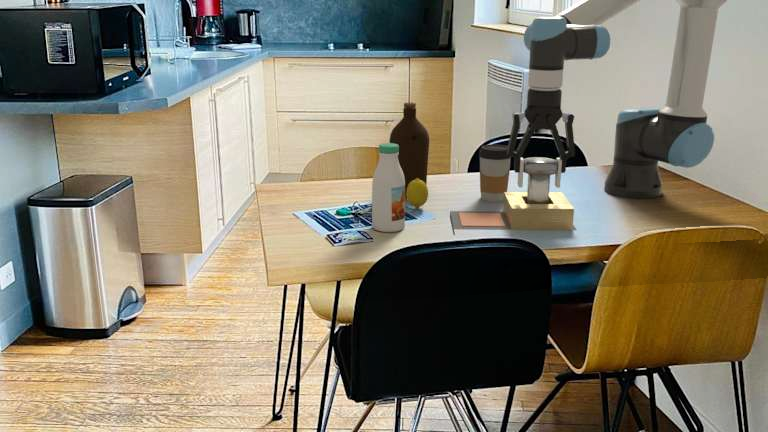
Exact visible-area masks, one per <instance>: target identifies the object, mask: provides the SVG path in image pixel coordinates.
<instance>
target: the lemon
mask: <svg viewBox="0 0 768 432" xmlns="http://www.w3.org/2000/svg"><path fill="white" fill-rule="evenodd" d="M406 196H407V199H406V201H407V202H408V204H410V206H413V207H414V208H415V209H419V208H420V207H422V206H424V205H425V204H426V203H427V201H428V197H429V190H428V185H426V184H425V183H424V182H423V181H422V180H420V179H419V178H416V179H415V180H413V181H411V182H410V183H409V185H408V187H407V192H406Z"/></svg>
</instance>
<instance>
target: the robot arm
mask: <svg viewBox="0 0 768 432" xmlns="http://www.w3.org/2000/svg"><path fill="white" fill-rule="evenodd" d="M675 1H676V2H677V3H678V5H679V7H680V11H679V16H678V17H679V18H678V24H677V30H676V35H675V36H676V38H675V44H674V50H673V56H672V62H671V69H670V77H669V82H668V83H669V84H668V89H667V95H666V102H665V104H664V106H662V107H642V108H641V107H640V108H639V107H637V108H627V109H623V110H620V111H619V113H618V114H617V119H616V120H617V122H616V124H615V137H614V148H613V149H614V151H613V152H614V153H613V162H612V165H611V167H610V170H609V171H608V174H607V176H606V179H605V181H604V188H603V189H604V192H606V193H608V194H610V195H613V196H618V197H621V198H628V199H630V198H631V199H653V198H658V197H660V196H661V195H662V193H663V192H662V191H663V184H662V183H663V182H662V179H661V174H660V170H659V162H661V163H665V164H667V165H668V164H669V165H671V166H673V167H680V168H687V169H688V168H689V169H691V168H694V167H696V166H698V165H700V164H702V162H703V161H704V160H705V159H707V158H708V156H709V154H710V152H711V151H712V149H713V145H714V143H715V142H714V141H715V133H714V131H713V128H712V127H711V126H710V125H709V124H708V123H707V119H708V113H707V112H706V111H705V110H704V108H703V105H704V98H705V93H706V85H707V80H708V75H709V68H710V62H711V55H712V49H713V45H714V37H715V31H716V28H717V27H716V26H717V20H718V13H719V9H720V7H722V6H723V5H724V4H725V3H726V2H727V1H728V0H675ZM638 2H640V0H580V1H579V2H576V3H575V4H573V5H572V6H569V7H568V8H566V9H565V10H563V11H561V12H560V13H558V14H556V15H555V16H538V17H535V18H534V19H533V21H532V23H530V24H529V25H528V26H527V27H526V29H525V30H524V34H523V44H524V46H525V47H526V49H527V50H528V51H529V63H528V64H529V66H528V82H527V86H528V87H529V88H528V89H527V95H526V96H527V97H526V108H525V110H524V112H523V111H522V112H518V113H517V112H513V113H512V122H513V123H512V126H511V131H510V136H509V141H508V145H507V146H508V148H507V154H508V156H510V157H511V158H513V159H514V162H513V170H514V173H517V186H518V188H523V184H524V172H523V169H524V159H525V158H524V157H523V155H524V152H525V150H526V149H527V147H528V144H529V142H530V140H531V138H532V137H533V134H534V133H535V132H536V131H537V130H538V131H539V130H547V131H550V133H551V135H552V139H553V141H554V144H555V146H556V149H557V152H558V154H559V157H556V159H555V160H557V161H558V167H557V173H556V174H554V186H555V187H556V188H557V189H560V188H561V179H562V174H565V173H566V172H567V171H566V170H567V160H568V159H570V158H574V157H575V156H576V151H575V149H576V148H575V139H574V128H573V124H574V120H575V114H572V112H563V110H562V108H561V107H562V90H561V88H562V87H563V79H564V78H563V77H564V65H565V61H570V60H572V61H573V60H577V61H578V60H593V59H601V58H602V57H605V55H606V54H607V53H608V52H609V49H610V46H611V35H610V32H609V30H608V29H607V28H606V27H605V26H603V25H602V24H603V23H605V22H606V21H609V20H610V19H611V18H613V17H615V16H616V15H618V14H620V13H621V12H623V11H625V10H626V9H628V8H629V7H631V6H633V5H634V4H636V3H638ZM524 118H525V119H526V120H527V122H528V125H527V127H526V130H525V132H524V134H523V136H522V138H521V140H520V142H519V144H518V146H517V148H516V145H517V141H518V136H519V131H520V128H521V123H522V122H523V120H524ZM561 118H562V122H564V129H565V139H566V147H567V150H565V147H564V145H563V142H562V139H561V137H560V134H559V130H558V128H557V123H558V122H559V121H560V120H561ZM515 149H516V150H515Z"/></svg>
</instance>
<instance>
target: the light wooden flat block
mask: <svg viewBox="0 0 768 432" xmlns="http://www.w3.org/2000/svg"><path fill="white" fill-rule="evenodd" d="M502 202H503V203H502V204H503V205H502V207H503V208H502V212H503V213H504V215H505V217H506V220H507V222H508V224H509V226H510V229H517V230H518V231H519V230H521V231H526V230H528V231H534V230H535V231H573V230H572V229H573V225H574V215H575V208H574V207H573V206H572V204H571V203H570V201H569V200H568V199H567V198H566V196H565V195H564V193H563V192H562V191H559V192H558V191H557V192H555V191H553V192H551V191H549V201H548V204H527V191H507V192H504V201H502ZM517 230H516V231H517Z"/></svg>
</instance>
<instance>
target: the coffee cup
mask: <svg viewBox="0 0 768 432" xmlns="http://www.w3.org/2000/svg"><path fill="white" fill-rule="evenodd" d="M507 148H508V145H503V144H486V145H485V144H484V145H482V146H481V147H480V150H479V155H478V157H479V187H480V188H479V189H480V190H479V191H480V199H481V200H482V201H485V202H491V203H492V202H493V203H494V202H495V203H497V202H498V203H499V202H504V192H508V188H509V178H510V169H511V160H512V159H511V158H512V157H510V156H508V154H507Z"/></svg>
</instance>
